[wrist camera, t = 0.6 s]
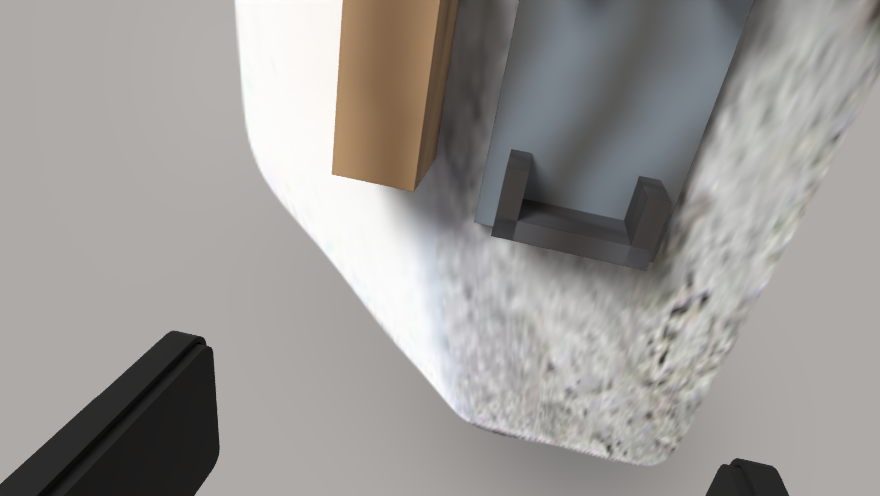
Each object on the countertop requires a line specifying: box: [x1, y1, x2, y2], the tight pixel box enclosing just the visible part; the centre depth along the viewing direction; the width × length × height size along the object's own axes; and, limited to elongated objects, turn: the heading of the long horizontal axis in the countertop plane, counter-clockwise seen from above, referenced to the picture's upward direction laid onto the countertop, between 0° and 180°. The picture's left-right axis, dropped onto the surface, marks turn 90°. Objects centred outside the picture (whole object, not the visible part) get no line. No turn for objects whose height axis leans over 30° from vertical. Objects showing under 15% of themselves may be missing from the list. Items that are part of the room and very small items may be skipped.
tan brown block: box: [332, 0, 459, 192], centre depth 29 cm, size 4×14×6 cm, turn 171°
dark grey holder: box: [474, 0, 754, 271], centre depth 28 cm, size 11×20×5 cm, turn 171°
